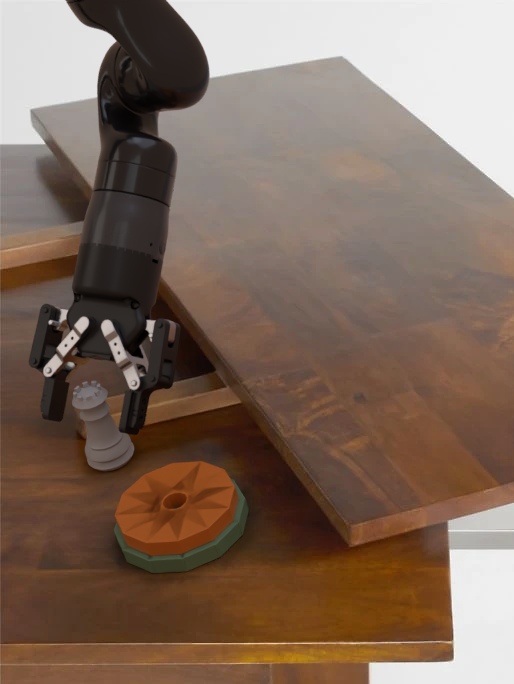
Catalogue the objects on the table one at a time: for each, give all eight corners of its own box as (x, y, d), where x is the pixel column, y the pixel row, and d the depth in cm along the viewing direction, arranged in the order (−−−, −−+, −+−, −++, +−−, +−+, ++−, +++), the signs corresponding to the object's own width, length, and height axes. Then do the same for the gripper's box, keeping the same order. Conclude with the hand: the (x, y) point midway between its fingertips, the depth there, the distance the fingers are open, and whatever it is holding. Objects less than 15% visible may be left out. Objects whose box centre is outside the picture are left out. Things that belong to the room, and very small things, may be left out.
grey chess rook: (111, 479, 125) (85, 410, 120) (78, 465, 127) (51, 396, 123) (145, 450, 127) (121, 381, 123) (113, 436, 130) (87, 369, 125)
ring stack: (106, 576, 115) (95, 550, 113) (136, 487, 123) (127, 462, 122) (234, 569, 113) (226, 542, 111) (257, 479, 122) (249, 453, 120)
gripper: (32, 233, 124) (-1, 412, 123) (165, 246, 118) (131, 434, 117) (83, 252, 131) (51, 421, 130) (211, 265, 125) (179, 442, 124)
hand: (89, 427), depth 124 cm, fingers open, 8 cm apart
